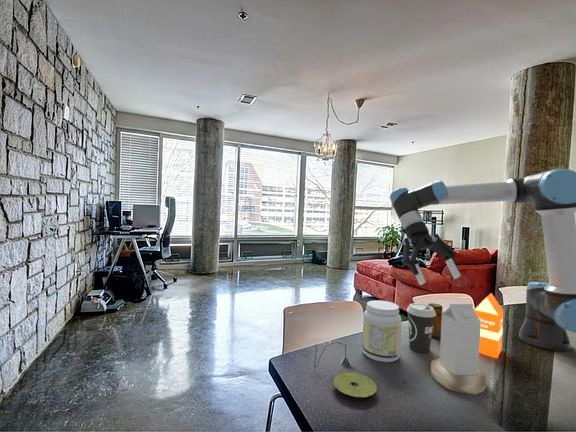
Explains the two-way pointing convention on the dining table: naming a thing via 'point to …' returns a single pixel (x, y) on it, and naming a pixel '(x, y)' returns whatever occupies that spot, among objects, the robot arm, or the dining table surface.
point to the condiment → (437, 321)
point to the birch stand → (458, 379)
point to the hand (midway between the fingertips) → (440, 280)
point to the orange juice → (490, 326)
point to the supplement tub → (382, 331)
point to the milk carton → (460, 339)
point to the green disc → (355, 384)
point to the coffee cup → (420, 326)
